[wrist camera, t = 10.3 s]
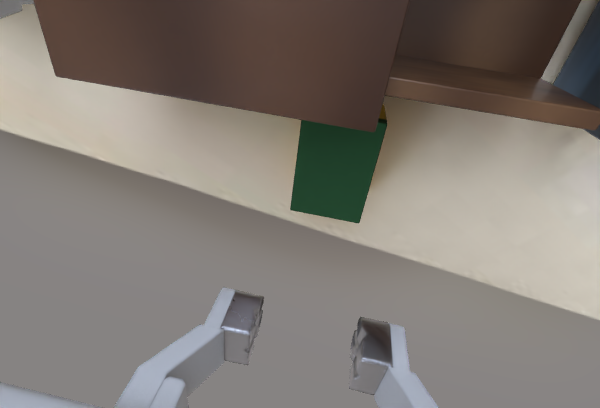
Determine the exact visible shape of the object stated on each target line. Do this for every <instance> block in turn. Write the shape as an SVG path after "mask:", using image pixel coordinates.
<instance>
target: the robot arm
mask: <svg viewBox="0 0 600 408" xmlns="http://www.w3.org/2000/svg"><path fill="white" fill-rule="evenodd" d="M263 299H264V297H263V296H259V295H255V294H251V293H247V292H243V291H239V290H235V289H230V288H226V287H223V288H222V289H221V291H220V293H219V295H218V297H217V299H216V301H215V303H214V305H213V307H212V309H211V311H210V314H209V316H208V318H207V320H206V322H205V324H204V325H201V324H200V325H198V326H197V327H195V328H194V329H192V330H191V331H190V332H188V333H187V334H185V335H184V336H182V337H181V338H179V339H178V340H176V341H175V342H174V343H172V344H171V345H169V346H168V347H166V348H165V349H163V350H162V351H161V352H159V353H158V354H156V355H155V356H153V357H152V358H150V359H149V360H147V361H146V362H145V363H143V364H142V365H140V366H139V367H138V368H137V370H136V371H135V373H134V375H133V377H132V378H131V380H130V381H129V383H128V385H127V386H126V388H125V390H124V392H123V393H122V395H121V396H120V398H119V400H118V401H117V403H116V405H115V406H114V408H189V405H188V398H187V397H188V396H189V395H190V394H191V393H192V392H193V391H194V390H195V389H197V388H198V387H199V386H200V385H201V384H202V383H203V382H204V381H205V380H206V379H207V378H208V377H209V376H210V375H211V374H212V373H213V372H214V371H216V369H218V368H219V367H220V366H221V365H222V364H223V363H224V361H229V362H234V363H239V364H244V365H248V364H249V361H250V357H251V354H252V351H253V348H254V338H256V337H257V335H258V332H259V328H260V323H261V319H262V313H263V310H262V305H263V301H264V300H263ZM350 357H351V359H352V361H353V363H352V366H351V368H350V386H349V389H352V390H356V391H360V392H363V393H367V394H371V395H374V399H375V401H376V403H377V405H378V406H379V408H439V407H438V406H437V404H436V403H435V401H434V400H433V399H432V397H431V396H430V394H429V393H428V391H427V390H426V389H425V387H424V386H423V384H422V383H421V381H420V380H419V378H418V377H417V375H416V374H415V373H414V372H410V366H409V358H408V350H407V342H406V334H405V328H404V327H403V326H401V325H396V324H391V323H388V322H384V321H379V320H374V319H369V318H364V317H360V318H359V320H358V325H357V330H355V331H354V335H353V339H352V343H351V355H350ZM0 408H103V407H99V406H95V405H90V404H86V403H83V402H79V401H75V400H71V399H67V398H63V397H59V396H54V395H51V394H46V393H42V392H38V391H34V390H30V389H26V388H22V387H18V386H14V385H10V384H6V383H2V382H0Z"/></svg>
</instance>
